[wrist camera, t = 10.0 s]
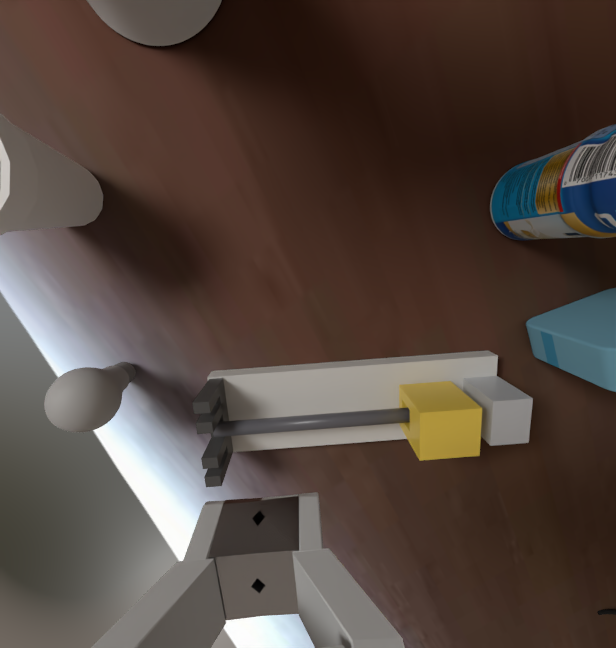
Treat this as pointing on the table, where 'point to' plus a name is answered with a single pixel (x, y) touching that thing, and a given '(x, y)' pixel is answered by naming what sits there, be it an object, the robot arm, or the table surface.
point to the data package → (579, 338)
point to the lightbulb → (87, 397)
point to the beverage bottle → (561, 192)
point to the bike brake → (607, 611)
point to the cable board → (344, 404)
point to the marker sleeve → (441, 420)
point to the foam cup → (42, 185)
